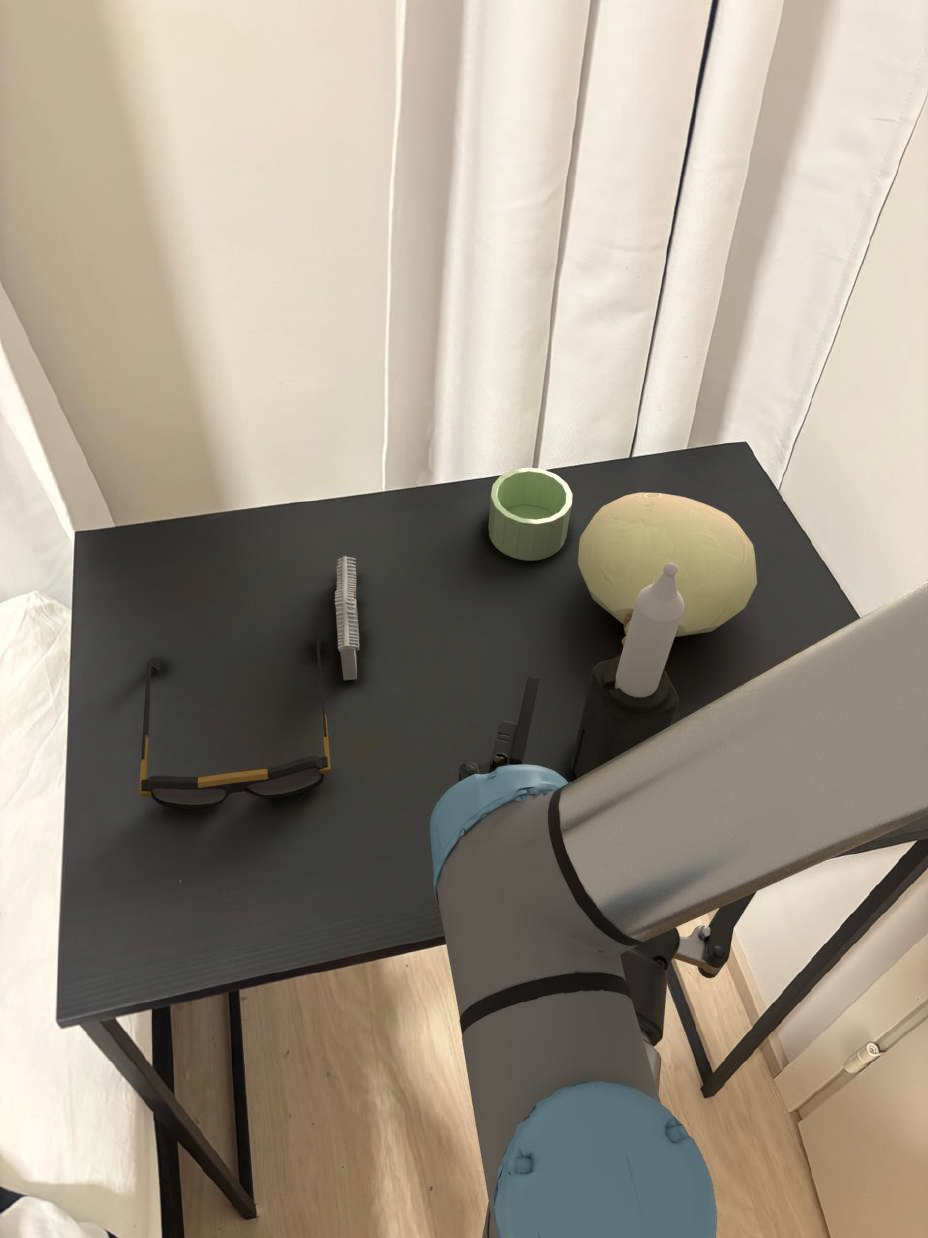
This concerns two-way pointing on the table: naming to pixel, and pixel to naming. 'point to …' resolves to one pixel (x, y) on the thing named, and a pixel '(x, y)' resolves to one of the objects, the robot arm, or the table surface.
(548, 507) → the candle holder
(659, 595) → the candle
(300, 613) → the table surface
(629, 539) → the flask
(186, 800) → the sunglasses
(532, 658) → the table surface
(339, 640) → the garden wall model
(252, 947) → the table surface
